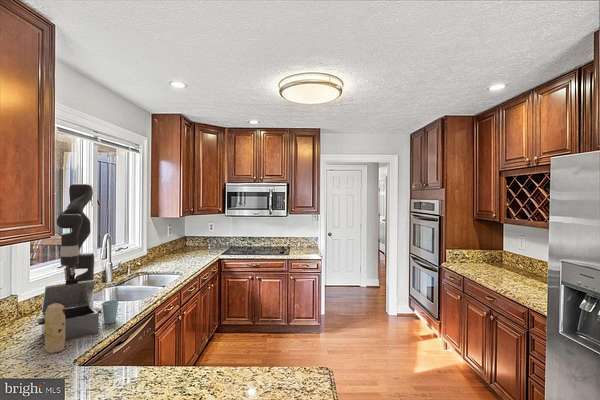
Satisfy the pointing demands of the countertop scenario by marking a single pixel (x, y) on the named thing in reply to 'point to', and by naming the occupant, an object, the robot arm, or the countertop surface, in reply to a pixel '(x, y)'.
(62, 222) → the robot arm
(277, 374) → the countertop surface
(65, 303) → the lid
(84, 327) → the cooker pot
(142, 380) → the countertop surface
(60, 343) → the food model
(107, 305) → the cup
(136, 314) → the countertop surface
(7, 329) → the countertop surface
